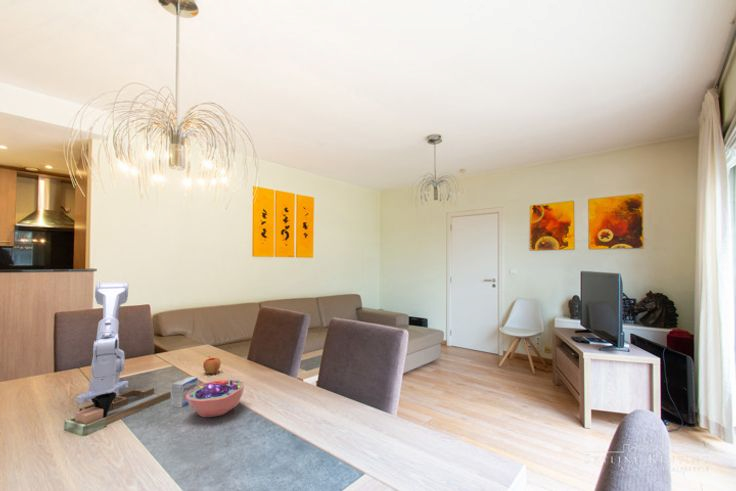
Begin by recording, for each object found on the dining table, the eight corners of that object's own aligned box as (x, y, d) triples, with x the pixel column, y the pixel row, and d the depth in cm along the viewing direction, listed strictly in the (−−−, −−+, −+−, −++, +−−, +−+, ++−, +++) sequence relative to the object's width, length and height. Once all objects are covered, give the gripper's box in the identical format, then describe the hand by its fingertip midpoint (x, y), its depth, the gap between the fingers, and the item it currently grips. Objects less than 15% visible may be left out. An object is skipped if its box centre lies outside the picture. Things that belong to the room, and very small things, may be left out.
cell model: (255, 406, 122) (256, 375, 123) (208, 431, 104) (210, 394, 105) (222, 397, 129) (223, 368, 130) (173, 419, 111) (174, 385, 112)
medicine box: (181, 409, 119) (182, 384, 119) (170, 407, 120) (172, 383, 120) (197, 400, 127) (198, 377, 127) (186, 398, 127) (188, 375, 128)
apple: (215, 376, 152) (216, 358, 152) (199, 376, 152) (200, 358, 153) (222, 371, 159) (223, 354, 160) (207, 370, 160) (208, 353, 160)
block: (74, 427, 103) (75, 413, 104) (92, 420, 108) (93, 406, 108) (84, 431, 102) (85, 416, 102) (102, 423, 106) (103, 409, 107)
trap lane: (53, 426, 105) (54, 417, 105) (142, 392, 132) (142, 386, 132) (84, 435, 100) (84, 426, 100) (170, 399, 127) (170, 391, 127)
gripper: (87, 384, 101) (85, 429, 101) (135, 369, 115) (133, 409, 114) (73, 380, 104) (70, 425, 103) (121, 367, 117) (119, 406, 117)
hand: (102, 416), depth 109 cm, fingers closed
